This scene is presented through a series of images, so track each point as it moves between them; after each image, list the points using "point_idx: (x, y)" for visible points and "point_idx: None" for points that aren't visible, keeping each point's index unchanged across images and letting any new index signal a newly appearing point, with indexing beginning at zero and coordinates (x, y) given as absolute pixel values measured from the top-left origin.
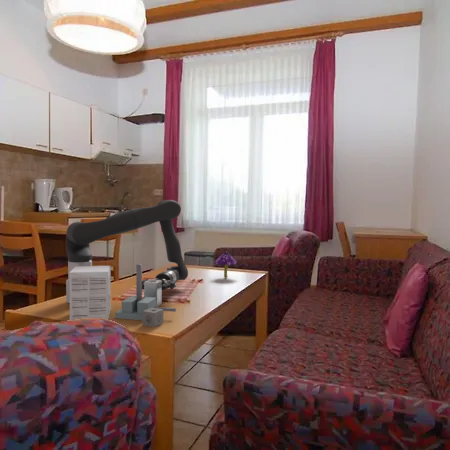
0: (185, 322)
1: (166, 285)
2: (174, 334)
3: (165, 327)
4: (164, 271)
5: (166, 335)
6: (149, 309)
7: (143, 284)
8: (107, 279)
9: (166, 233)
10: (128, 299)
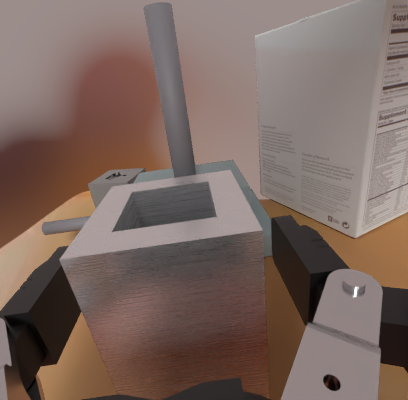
0: (29, 240)
1: (19, 291)
2: (73, 197)
3: (92, 209)
4: None
5: (89, 192)
6: (129, 175)
7: (273, 218)
8: (256, 67)
9: None
10: (225, 169)
